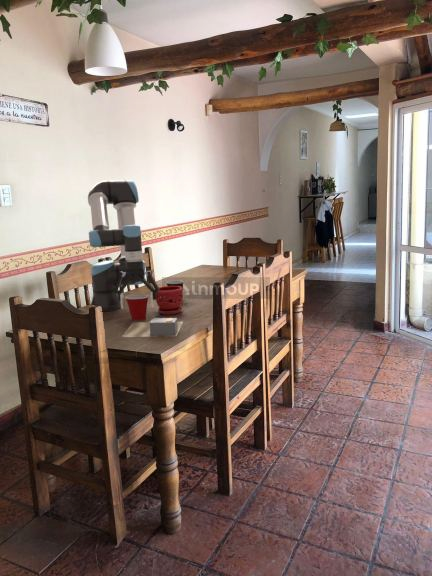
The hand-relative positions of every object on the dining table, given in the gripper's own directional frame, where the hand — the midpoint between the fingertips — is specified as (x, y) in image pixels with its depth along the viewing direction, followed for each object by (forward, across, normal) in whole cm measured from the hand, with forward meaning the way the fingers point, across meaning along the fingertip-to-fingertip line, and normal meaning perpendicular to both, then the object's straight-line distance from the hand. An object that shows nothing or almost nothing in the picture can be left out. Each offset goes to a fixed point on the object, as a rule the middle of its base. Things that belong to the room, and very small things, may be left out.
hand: (137, 307), depth 214 cm
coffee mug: (+6, +12, +39) cm, 41 cm away
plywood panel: (+7, +10, -16) cm, 20 cm away
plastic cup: (+7, 0, +1) cm, 7 cm away
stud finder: (+5, +15, -23) cm, 28 cm away
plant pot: (+7, +12, +15) cm, 20 cm away
